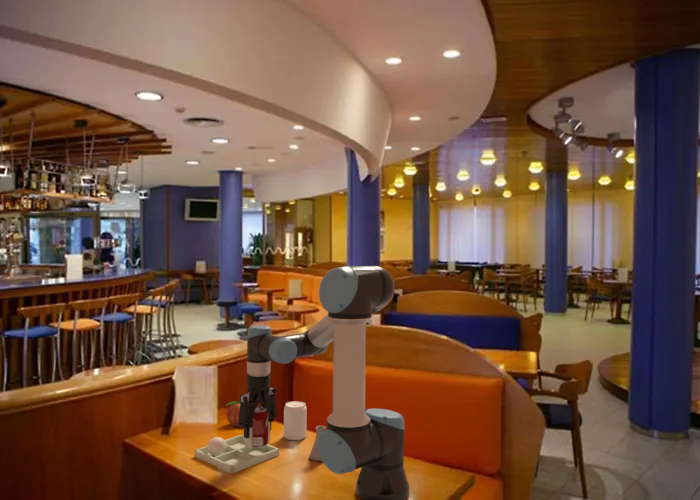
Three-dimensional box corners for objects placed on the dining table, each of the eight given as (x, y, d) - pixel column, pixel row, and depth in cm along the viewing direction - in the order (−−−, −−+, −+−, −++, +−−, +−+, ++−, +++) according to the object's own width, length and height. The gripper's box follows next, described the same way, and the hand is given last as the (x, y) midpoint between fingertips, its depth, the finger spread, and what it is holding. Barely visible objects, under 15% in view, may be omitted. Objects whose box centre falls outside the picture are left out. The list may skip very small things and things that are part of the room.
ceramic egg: (230, 455, 179) (230, 437, 179) (214, 461, 175) (214, 442, 174) (218, 450, 183) (219, 432, 183) (203, 456, 178) (203, 437, 178)
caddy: (279, 457, 180) (279, 448, 180) (231, 476, 166) (232, 467, 166) (241, 443, 193) (241, 434, 193) (194, 459, 178) (194, 450, 178)
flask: (304, 459, 180) (305, 428, 180) (316, 451, 187) (316, 422, 186) (324, 463, 177) (324, 432, 176) (335, 455, 183) (335, 425, 183)
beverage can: (280, 435, 201) (281, 402, 201) (301, 432, 205) (302, 399, 204) (287, 442, 194) (288, 408, 194) (309, 439, 197) (310, 406, 197)
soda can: (263, 450, 176) (264, 412, 175) (243, 448, 177) (244, 411, 177) (270, 442, 182) (271, 406, 182) (251, 440, 184) (252, 404, 183)
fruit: (248, 429, 207) (249, 402, 206) (222, 429, 206) (223, 402, 206) (251, 421, 215) (252, 395, 215) (227, 421, 215) (227, 395, 215)
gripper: (273, 366, 189) (272, 433, 190) (226, 377, 174) (225, 449, 175) (288, 370, 184) (287, 438, 185) (241, 381, 169) (240, 456, 170)
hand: (257, 443), depth 180 cm, fingers closed on soda can, 7 cm apart
